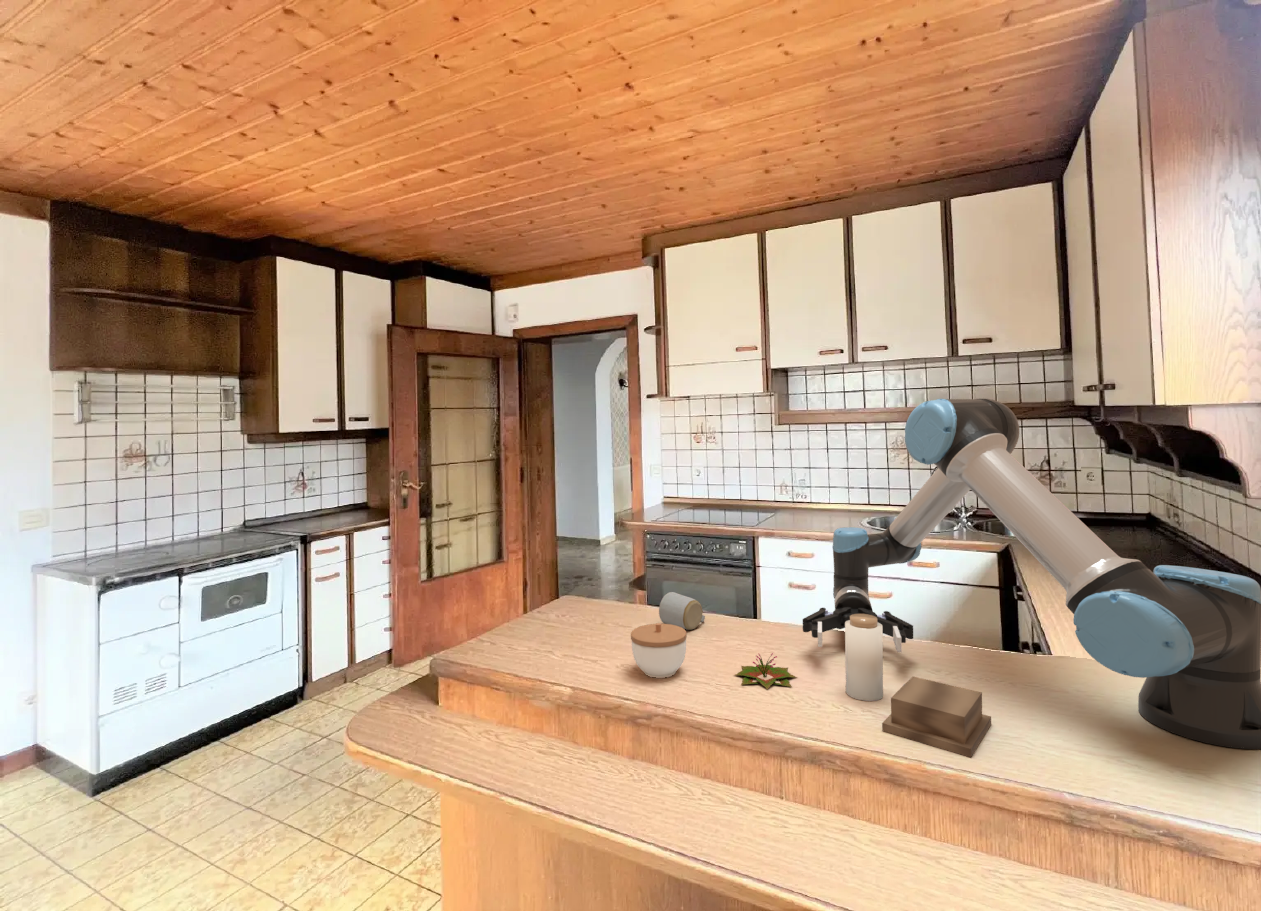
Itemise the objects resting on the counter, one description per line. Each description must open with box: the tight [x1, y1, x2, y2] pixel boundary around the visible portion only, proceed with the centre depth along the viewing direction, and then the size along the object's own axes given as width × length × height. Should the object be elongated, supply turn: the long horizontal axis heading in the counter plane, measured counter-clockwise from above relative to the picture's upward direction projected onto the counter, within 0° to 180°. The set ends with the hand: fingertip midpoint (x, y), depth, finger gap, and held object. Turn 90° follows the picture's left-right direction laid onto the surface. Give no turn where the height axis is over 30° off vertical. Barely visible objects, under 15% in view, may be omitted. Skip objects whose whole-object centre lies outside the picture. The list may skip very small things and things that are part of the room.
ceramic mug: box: [658, 591, 706, 631], centre depth 144 cm, size 11×8×8 cm
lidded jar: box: [630, 622, 688, 679], centre depth 117 cm, size 11×11×9 cm
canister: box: [844, 614, 884, 702], centre depth 105 cm, size 6×6×13 cm
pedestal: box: [881, 676, 992, 758], centre depth 92 cm, size 12×12×5 cm
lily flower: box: [734, 652, 798, 690], centre depth 113 cm, size 12×12×5 cm
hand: (858, 642), depth 111 cm, fingers open, 13 cm apart
